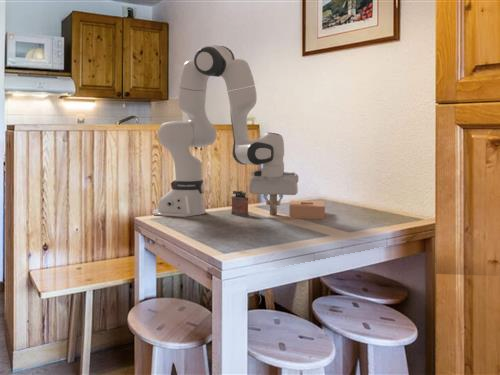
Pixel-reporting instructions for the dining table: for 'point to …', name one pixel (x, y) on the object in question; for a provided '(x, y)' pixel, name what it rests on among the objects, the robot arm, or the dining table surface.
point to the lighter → (239, 203)
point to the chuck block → (307, 209)
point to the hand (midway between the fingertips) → (273, 205)
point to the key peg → (273, 204)
